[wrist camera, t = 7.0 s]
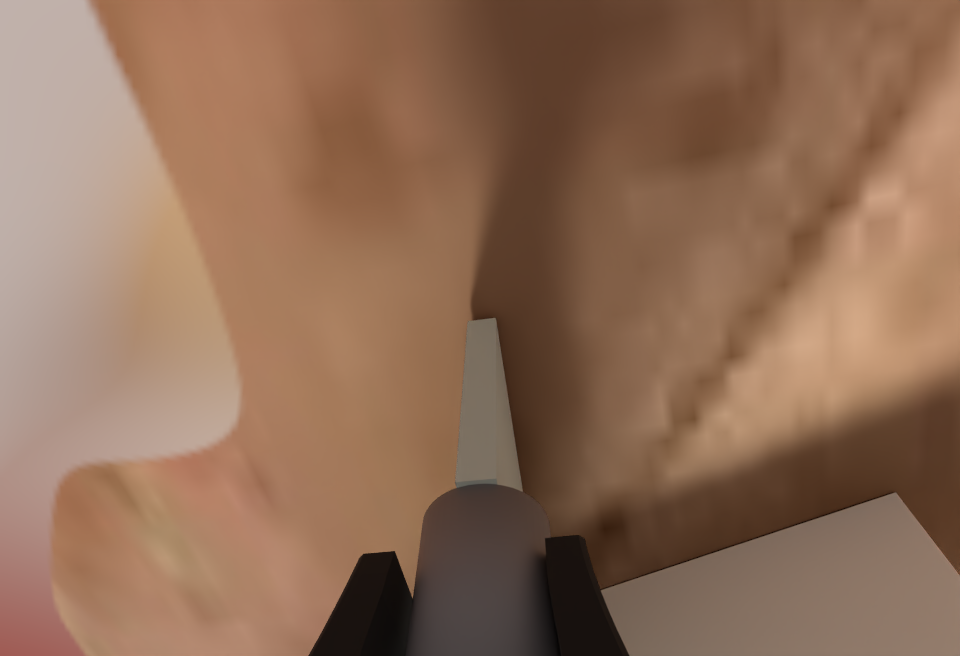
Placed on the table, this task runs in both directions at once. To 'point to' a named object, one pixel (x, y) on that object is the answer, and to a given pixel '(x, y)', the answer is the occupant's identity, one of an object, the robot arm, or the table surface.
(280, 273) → the table surface
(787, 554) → the carton
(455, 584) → the flap
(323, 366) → the table surface
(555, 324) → the table surface
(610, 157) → the table surface
